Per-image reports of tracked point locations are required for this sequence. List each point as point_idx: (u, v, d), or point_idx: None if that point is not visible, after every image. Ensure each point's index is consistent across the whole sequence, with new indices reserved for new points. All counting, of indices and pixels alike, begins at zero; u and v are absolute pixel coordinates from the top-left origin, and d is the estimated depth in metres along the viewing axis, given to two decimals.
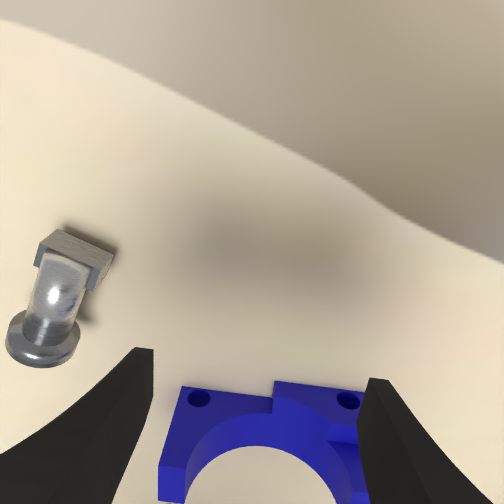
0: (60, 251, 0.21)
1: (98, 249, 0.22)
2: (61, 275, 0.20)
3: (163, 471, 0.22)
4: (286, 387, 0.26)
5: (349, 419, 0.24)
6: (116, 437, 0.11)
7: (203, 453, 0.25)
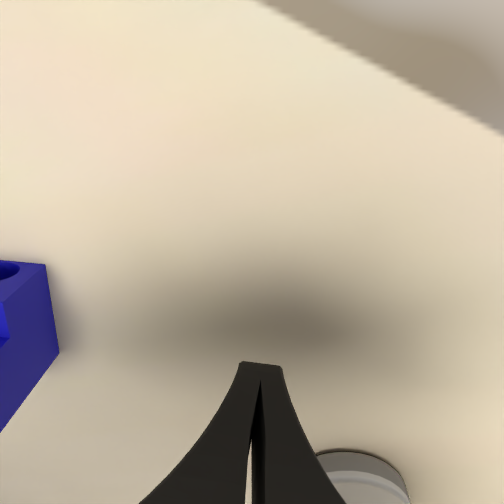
0: None
1: None
2: None
3: None
4: None
5: None
6: None
7: None
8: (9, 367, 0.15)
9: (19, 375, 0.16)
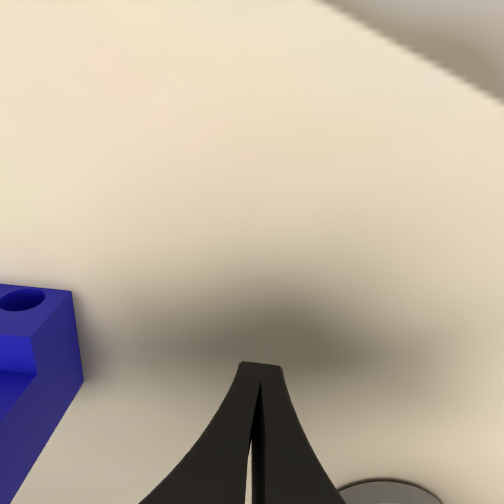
0: None
1: None
2: None
3: None
4: None
5: None
6: None
7: None
8: (35, 405, 0.14)
9: (46, 412, 0.15)
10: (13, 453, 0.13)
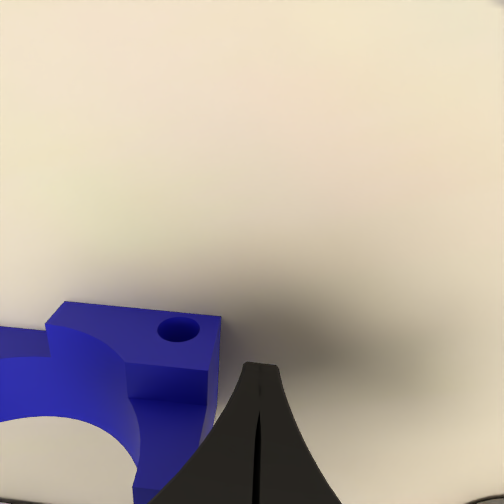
0: None
1: None
2: None
3: None
4: (76, 311, 0.15)
5: (163, 356, 0.13)
6: None
7: None
8: (204, 437, 0.14)
9: None
10: None
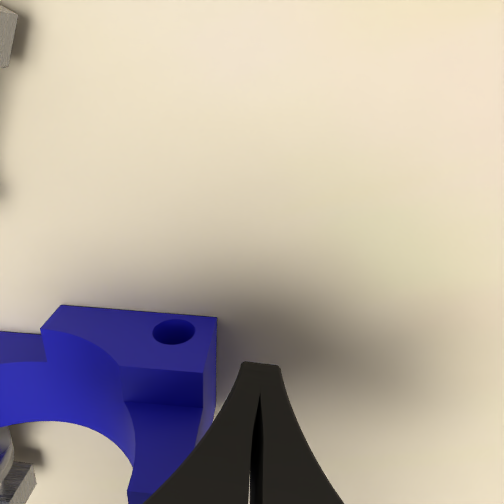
0: None
1: None
2: None
3: None
4: (71, 316, 0.15)
5: (158, 359, 0.13)
6: None
7: None
8: None
9: None
10: None
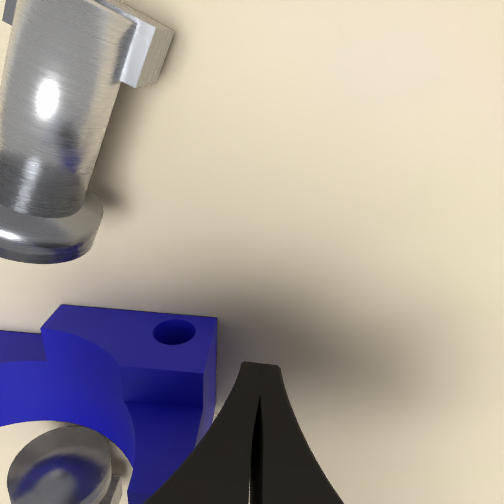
0: None
1: (143, 15, 0.11)
2: (66, 6, 0.08)
3: None
4: (72, 315, 0.15)
5: (158, 359, 0.13)
6: None
7: None
8: None
9: None
10: None
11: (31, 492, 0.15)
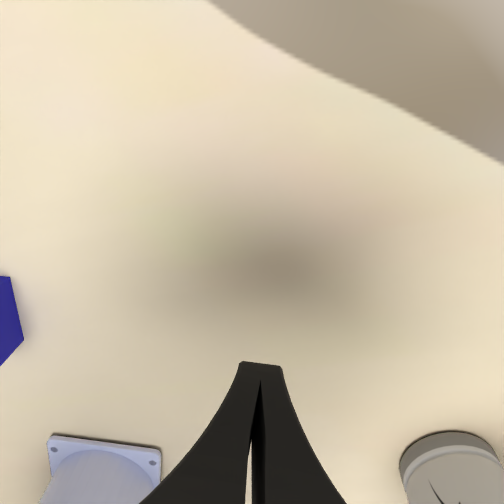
0: None
1: None
2: None
3: None
4: None
5: None
6: None
7: None
8: None
9: None
10: None
11: None
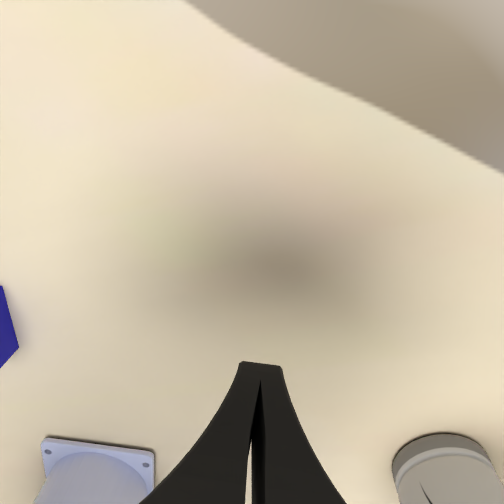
0: None
1: None
2: None
3: None
4: None
5: None
6: None
7: None
8: None
9: None
10: None
11: None
